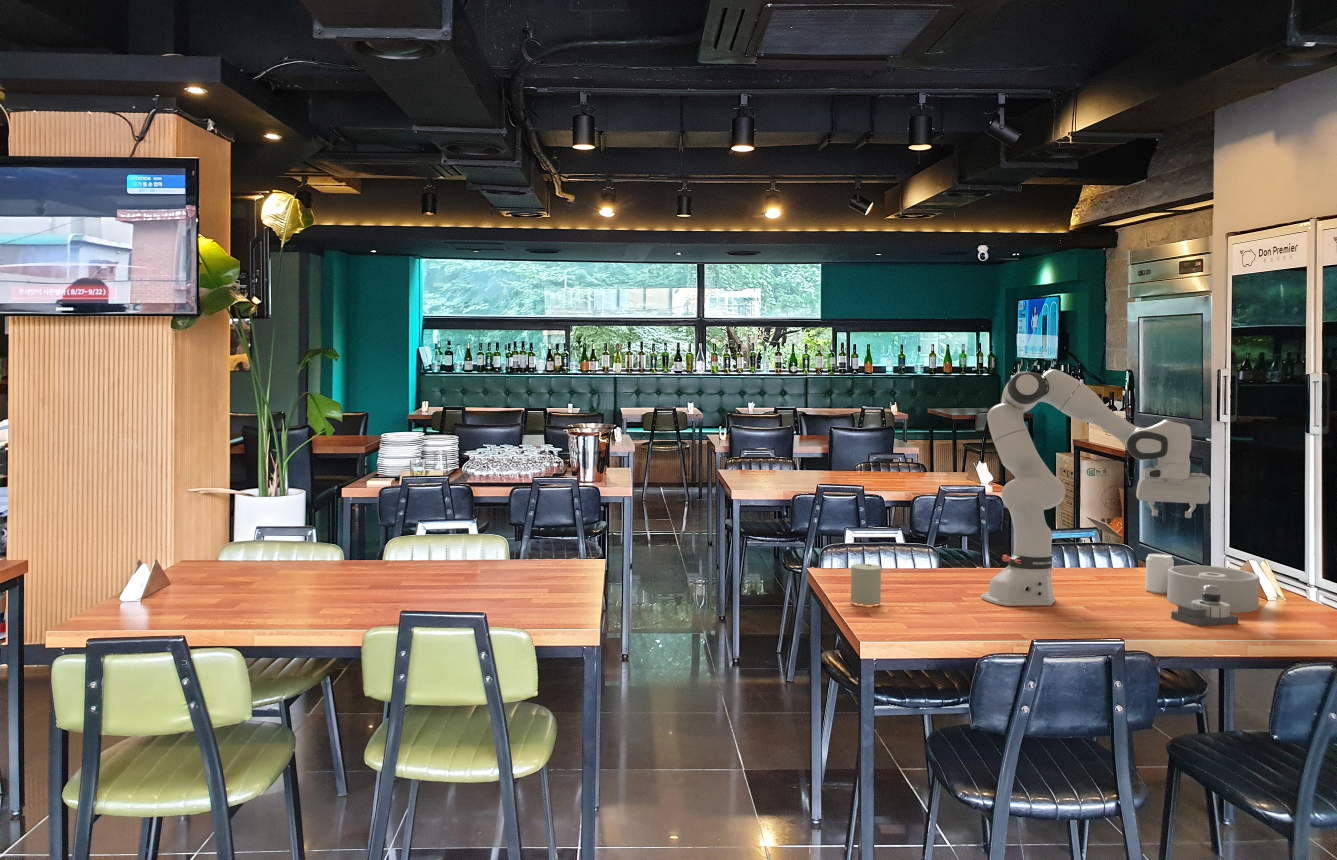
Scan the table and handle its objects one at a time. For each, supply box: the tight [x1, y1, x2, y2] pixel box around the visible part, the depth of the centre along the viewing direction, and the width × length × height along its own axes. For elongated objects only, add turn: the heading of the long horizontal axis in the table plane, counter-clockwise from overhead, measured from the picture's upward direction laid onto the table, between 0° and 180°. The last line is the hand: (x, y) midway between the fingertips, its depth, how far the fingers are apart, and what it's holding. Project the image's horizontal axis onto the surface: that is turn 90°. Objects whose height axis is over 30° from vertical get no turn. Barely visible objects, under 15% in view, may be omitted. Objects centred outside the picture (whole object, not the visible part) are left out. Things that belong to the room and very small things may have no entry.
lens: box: [1202, 585, 1221, 605], centre depth 286 cm, size 5×5×8 cm
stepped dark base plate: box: [1170, 600, 1239, 627], centre depth 287 cm, size 14×10×5 cm
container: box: [1166, 565, 1261, 614], centre depth 310 cm, size 25×25×10 cm
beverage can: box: [1144, 553, 1175, 595], centre depth 327 cm, size 8×8×12 cm
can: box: [850, 563, 882, 605], centre depth 305 cm, size 9×9×12 cm
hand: (1171, 516), depth 308 cm, fingers open, 8 cm apart
